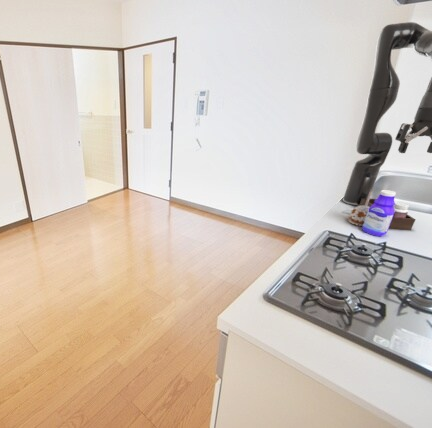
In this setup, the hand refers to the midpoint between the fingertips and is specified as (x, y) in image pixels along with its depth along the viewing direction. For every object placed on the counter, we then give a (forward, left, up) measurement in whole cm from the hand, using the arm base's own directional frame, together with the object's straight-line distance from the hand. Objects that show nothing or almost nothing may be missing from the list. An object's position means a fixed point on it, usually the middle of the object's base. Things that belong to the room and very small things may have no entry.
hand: (415, 152), depth 102 cm
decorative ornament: (+1, -9, -30) cm, 32 cm away
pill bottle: (-1, +3, -29) cm, 29 cm away
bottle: (+9, -7, -30) cm, 32 cm away
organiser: (-8, +1, -30) cm, 31 cm away
